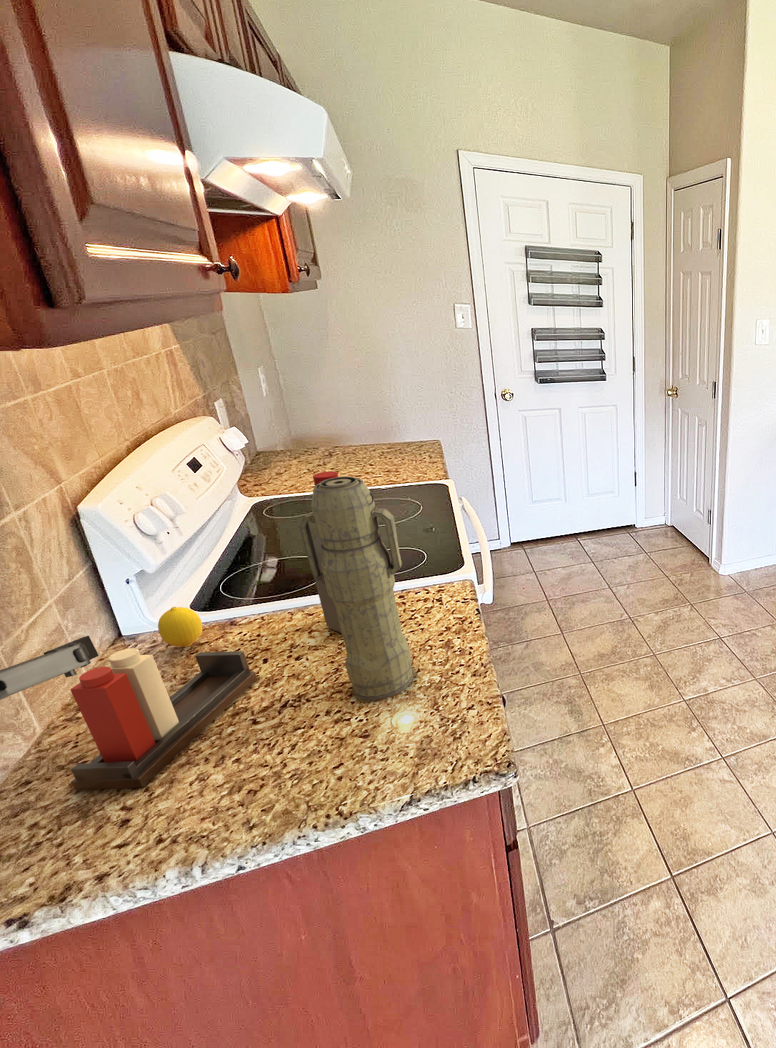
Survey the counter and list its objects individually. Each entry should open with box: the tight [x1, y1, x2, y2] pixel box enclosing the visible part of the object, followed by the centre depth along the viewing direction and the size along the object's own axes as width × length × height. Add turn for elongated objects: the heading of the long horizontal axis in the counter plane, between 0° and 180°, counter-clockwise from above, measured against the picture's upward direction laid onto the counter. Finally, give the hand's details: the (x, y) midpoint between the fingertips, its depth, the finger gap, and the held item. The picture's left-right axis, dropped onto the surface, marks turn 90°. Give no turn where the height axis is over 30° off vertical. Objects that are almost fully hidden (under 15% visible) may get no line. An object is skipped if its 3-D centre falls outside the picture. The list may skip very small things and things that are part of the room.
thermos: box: [298, 476, 414, 701], centre depth 87 cm, size 9×12×35 cm
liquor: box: [312, 470, 342, 634], centre depth 105 cm, size 9×9×30 cm
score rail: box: [70, 650, 258, 791], centre depth 82 cm, size 8×22×6 cm, turn 5°
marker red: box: [70, 666, 156, 763], centre depth 74 cm, size 4×3×13 cm
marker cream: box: [103, 647, 179, 740], centre depth 77 cm, size 4×3×13 cm
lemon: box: [157, 606, 203, 648], centre depth 100 cm, size 6×6×8 cm
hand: (14, 670), depth 66 cm, fingers open, 13 cm apart
